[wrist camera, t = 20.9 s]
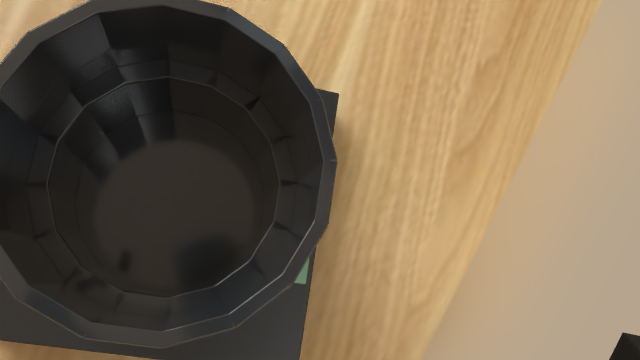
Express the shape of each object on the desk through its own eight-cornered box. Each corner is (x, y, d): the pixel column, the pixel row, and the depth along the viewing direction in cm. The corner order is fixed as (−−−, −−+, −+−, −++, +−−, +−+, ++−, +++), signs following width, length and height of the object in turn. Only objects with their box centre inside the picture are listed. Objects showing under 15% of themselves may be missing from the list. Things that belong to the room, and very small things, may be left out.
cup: (301, 116, 29) (356, 38, 19) (266, 331, 26) (307, 366, 17) (80, 69, 26) (17, -47, 17) (23, 299, 24) (-89, 317, 15)
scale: (328, 106, 32) (343, 88, 29) (288, 367, 30) (299, 379, 26) (63, 48, 30) (47, 21, 26) (-11, 330, 27) (-39, 338, 24)
